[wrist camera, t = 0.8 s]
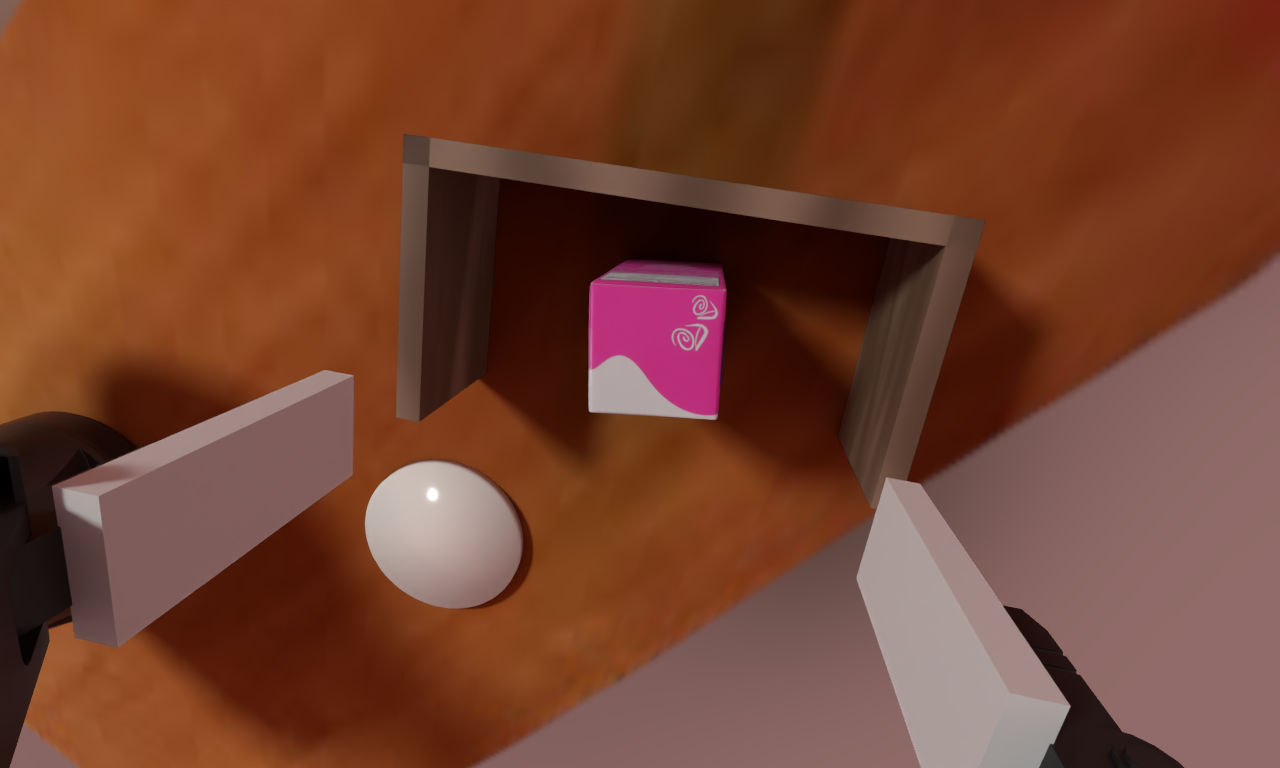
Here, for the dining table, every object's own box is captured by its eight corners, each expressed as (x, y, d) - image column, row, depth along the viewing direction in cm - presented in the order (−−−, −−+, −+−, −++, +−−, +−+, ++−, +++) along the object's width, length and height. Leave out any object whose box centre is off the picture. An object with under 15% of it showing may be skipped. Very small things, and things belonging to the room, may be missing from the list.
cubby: (468, 369, 39) (396, 417, 31) (481, 149, 35) (403, 133, 27) (858, 440, 37) (897, 512, 29) (919, 214, 33) (985, 220, 25)
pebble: (370, 584, 45) (364, 590, 44) (372, 445, 42) (365, 450, 41) (516, 615, 44) (512, 622, 43) (530, 476, 41) (526, 481, 40)
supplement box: (720, 359, 37) (717, 426, 26) (622, 353, 38) (579, 416, 27) (727, 261, 35) (728, 288, 24) (624, 256, 36) (580, 280, 25)
